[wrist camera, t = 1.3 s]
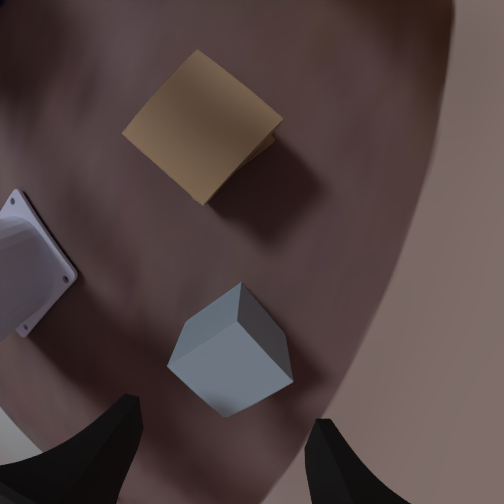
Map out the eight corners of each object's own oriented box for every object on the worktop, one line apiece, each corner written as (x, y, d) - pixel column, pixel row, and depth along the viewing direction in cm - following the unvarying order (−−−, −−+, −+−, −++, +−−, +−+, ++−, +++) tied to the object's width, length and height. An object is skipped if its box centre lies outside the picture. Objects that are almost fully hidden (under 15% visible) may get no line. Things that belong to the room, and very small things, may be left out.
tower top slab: (210, 200, 15) (202, 205, 13) (139, 137, 14) (121, 133, 12) (279, 126, 14) (283, 118, 12) (204, 65, 13) (197, 49, 11)
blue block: (230, 367, 20) (224, 418, 15) (185, 321, 19) (166, 366, 14) (285, 333, 19) (293, 382, 14) (241, 281, 18) (236, 320, 14)
